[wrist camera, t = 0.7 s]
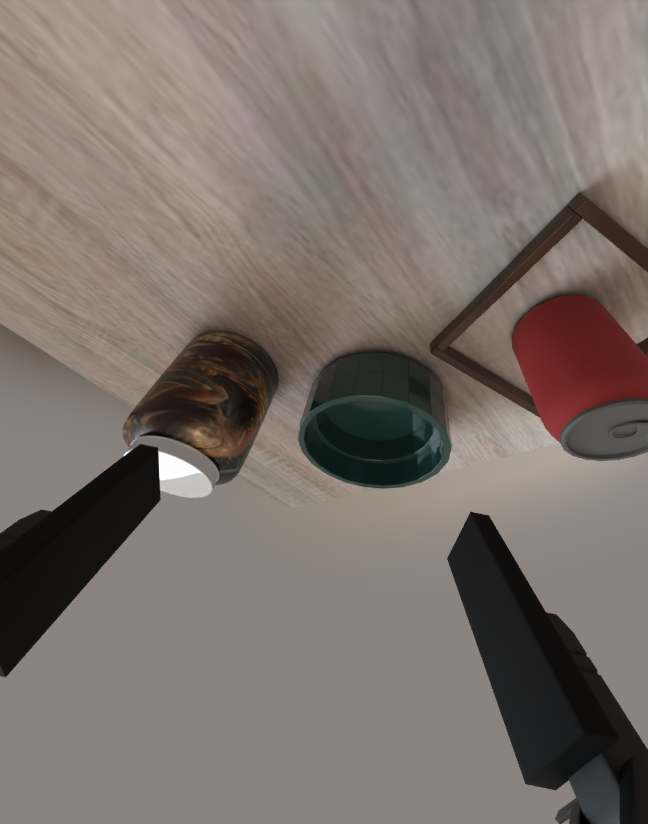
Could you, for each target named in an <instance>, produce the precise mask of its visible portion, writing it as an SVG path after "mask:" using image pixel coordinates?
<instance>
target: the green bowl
mask: <svg viewBox="0 0 648 824" xmlns="http://www.w3.org/2000/svg"><path fill="white" fill-rule="evenodd" d="M298 441H299V444H300V447H301V449H302V452H303V453H304V455H305V456H306V457H307V458H308V459H309V461H310V462H311V463H312V464H313V465H314V466H316V467H317V468H319V469H320V470H321V471H323V472H324V473H326V474H327V475H329V476H332V477H334V478H336V479H339V480H341V481H343V482H346V483H350V484H354V485H358V486H362V487H371V488H398V487H405V486H409V485H413V484H416V483H420V482H423V481H425V480H427V479H428V478H430V477H432V476H434V475H436V474H437V473H438V472H439V471H440V470H441V469H442V468H443V467H444V466H445V464H446V463H447V462H448V460H449V456H450V451H451V447H452V444H451V436H450V428H449V419H448V411H447V403H446V398H445V395H444V392H443V388H442V385H441V384H440V383H439V382H438V380H437V379H436V378H435V377H434V376H433V375H432V373H431V372H430V371H429V370H428V369H426V368H424V367H422V366H421V365H419V364H417V363H415V362H414V361H412V360H410V359H408V358H404V357H400V356H396V355H392V354H388V353H359V354H355V355H352V356H348V357H345V358H342V359H338V360H337V361H335V362H334V363H332V364H331V365H329V366H328V367H327V368H325V369H324V370H322V371H321V373H320V374H319V376H318V377H317V379H316V380H315V382H314V383H313V385H312V388H311V391H310V394H309V397H308V400H307V404H306V407H305V410H304V413H303V416H302V419H301V422H300V426H299V433H298Z"/></svg>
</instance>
